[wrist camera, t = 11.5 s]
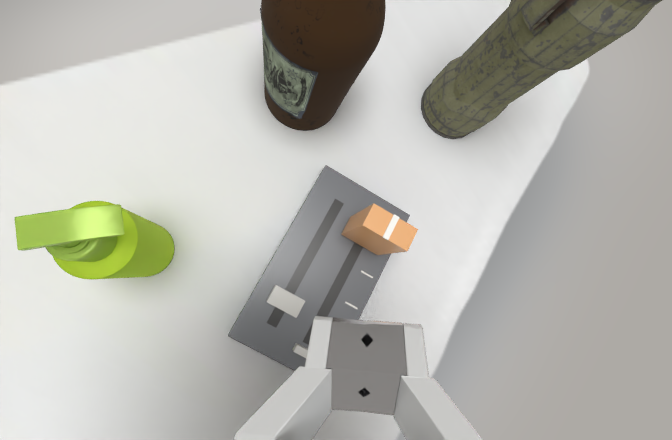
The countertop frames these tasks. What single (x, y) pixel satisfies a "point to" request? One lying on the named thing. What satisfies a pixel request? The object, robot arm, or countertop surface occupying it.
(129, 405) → the countertop surface
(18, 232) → the soap dispenser
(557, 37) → the thermos
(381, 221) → the fader lever
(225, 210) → the countertop surface
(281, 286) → the console
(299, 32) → the olive oil
